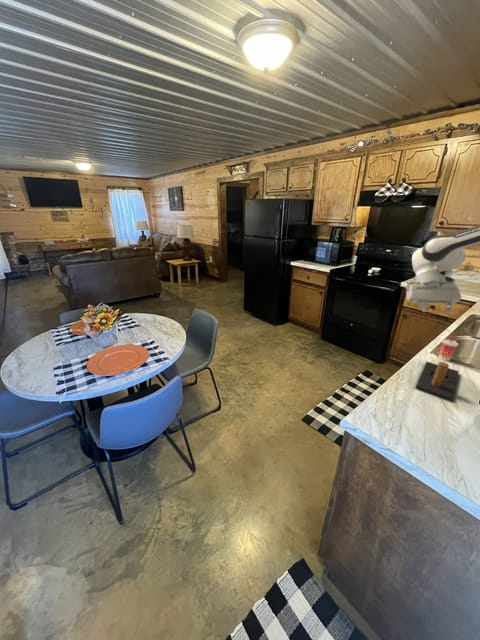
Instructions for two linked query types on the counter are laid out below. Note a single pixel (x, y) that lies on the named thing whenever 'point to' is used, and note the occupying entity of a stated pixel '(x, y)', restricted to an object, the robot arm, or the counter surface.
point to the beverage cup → (447, 349)
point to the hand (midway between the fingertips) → (437, 311)
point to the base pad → (450, 374)
